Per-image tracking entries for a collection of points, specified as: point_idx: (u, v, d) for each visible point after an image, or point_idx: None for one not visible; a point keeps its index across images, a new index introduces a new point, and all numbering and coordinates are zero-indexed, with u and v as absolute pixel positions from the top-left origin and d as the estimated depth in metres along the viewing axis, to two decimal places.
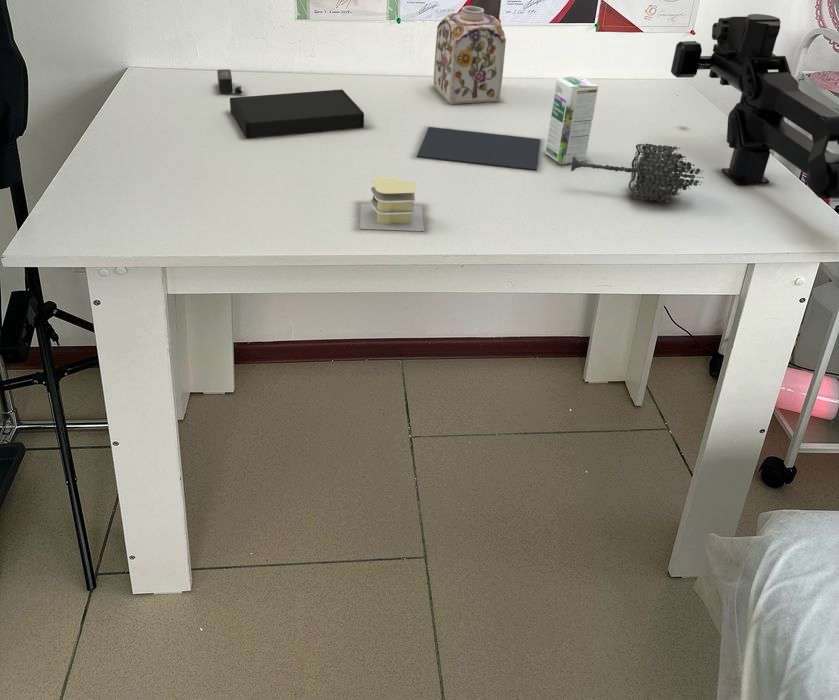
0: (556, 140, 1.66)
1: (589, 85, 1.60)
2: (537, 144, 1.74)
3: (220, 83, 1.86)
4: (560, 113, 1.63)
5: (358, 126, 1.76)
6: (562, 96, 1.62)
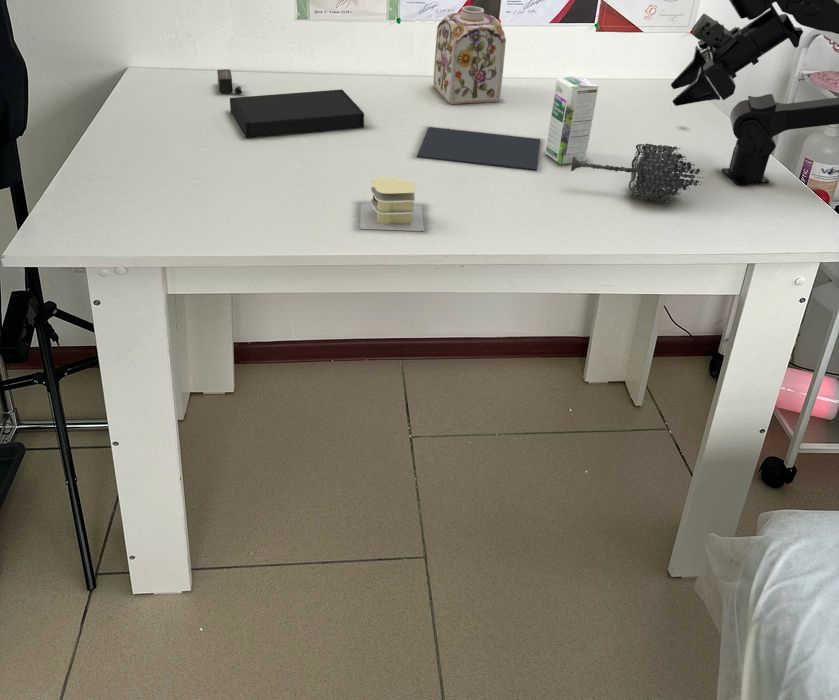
0: (556, 140, 1.66)
1: (589, 85, 1.60)
2: (537, 144, 1.74)
3: (220, 83, 1.86)
4: (560, 113, 1.63)
5: (358, 126, 1.76)
6: (562, 96, 1.62)
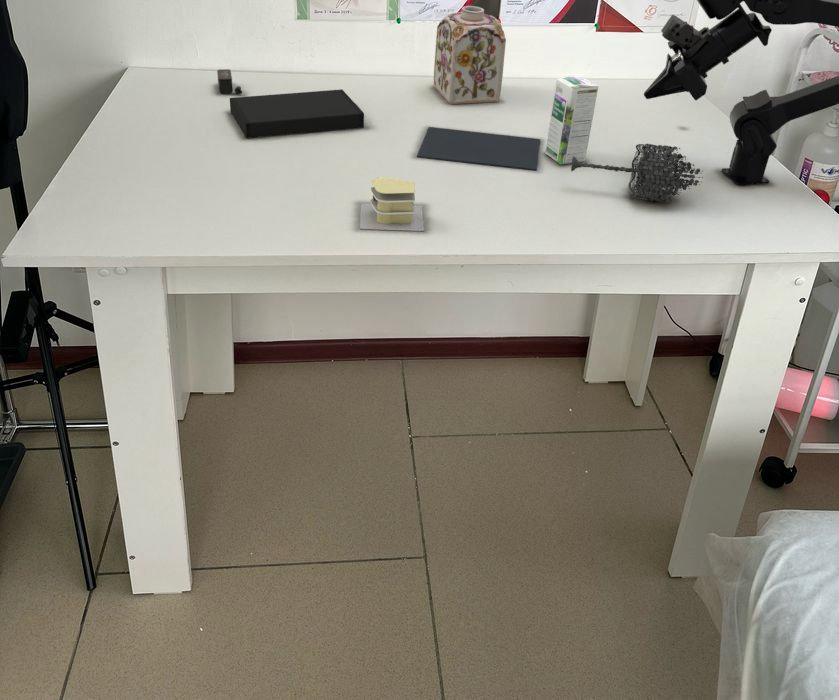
0: (556, 140, 1.66)
1: (589, 85, 1.60)
2: (537, 144, 1.74)
3: (220, 83, 1.86)
4: (560, 113, 1.63)
5: (358, 126, 1.76)
6: (562, 96, 1.62)
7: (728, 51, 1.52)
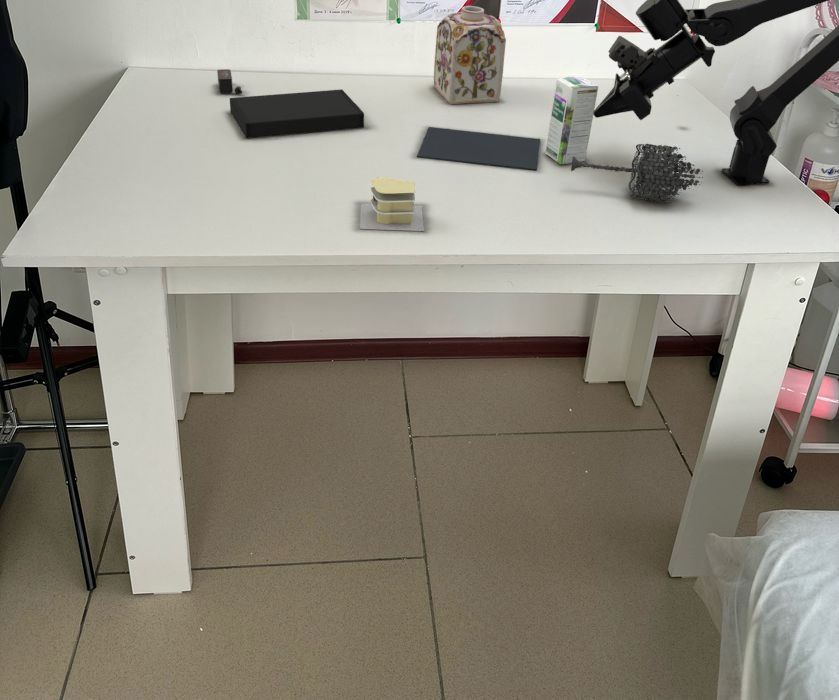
0: (556, 140, 1.66)
1: (589, 85, 1.60)
2: (537, 144, 1.74)
3: (220, 83, 1.86)
4: (560, 113, 1.63)
5: (358, 126, 1.76)
6: (562, 96, 1.62)
7: (673, 72, 1.55)
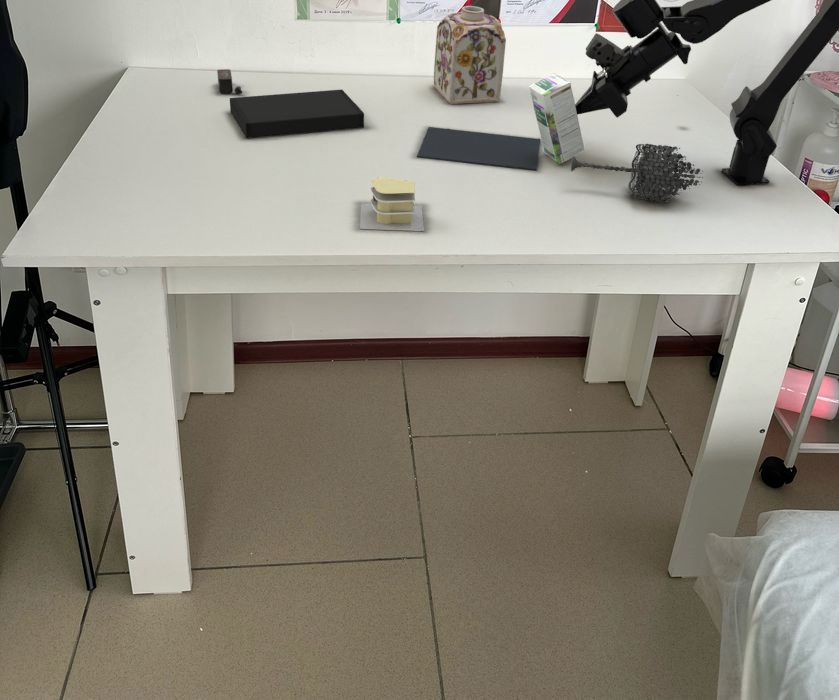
0: (549, 142, 1.66)
1: (561, 85, 1.58)
2: (537, 144, 1.74)
3: (220, 83, 1.86)
4: (543, 118, 1.62)
5: (358, 126, 1.76)
6: (539, 103, 1.61)
7: (649, 69, 1.56)
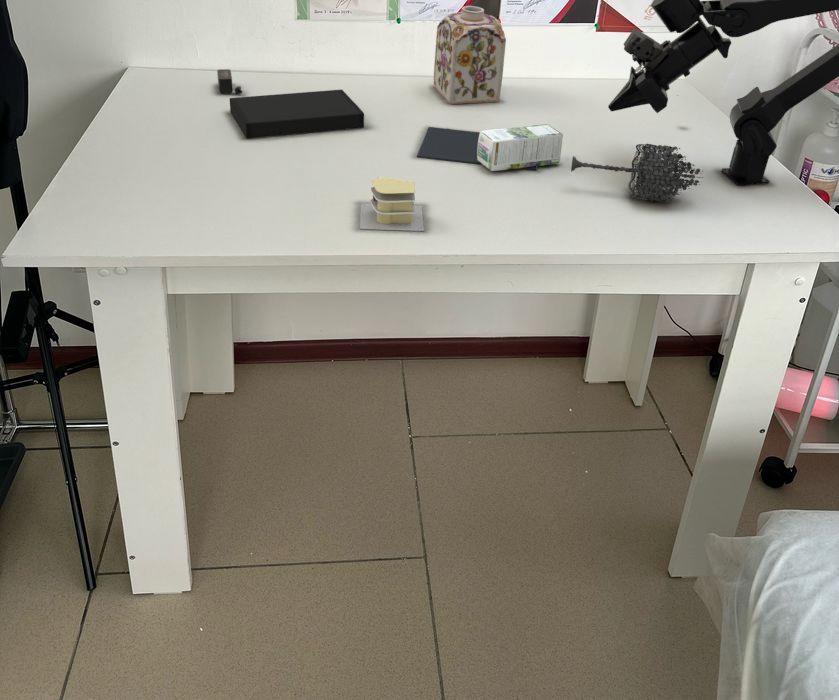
0: None
1: (491, 150, 1.59)
2: None
3: (220, 83, 1.86)
4: None
5: (358, 126, 1.76)
6: None
7: (689, 64, 1.54)
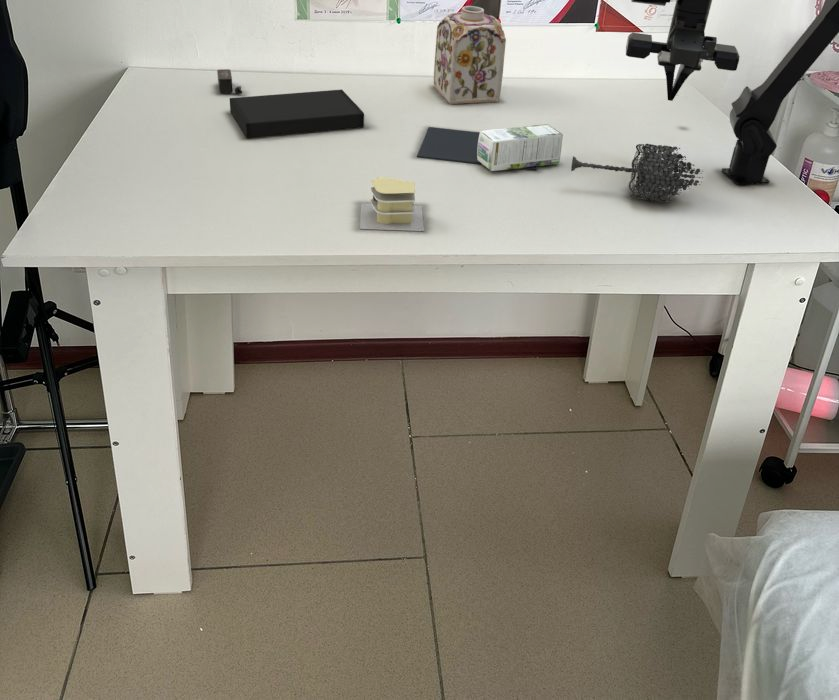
0: None
1: (491, 150, 1.59)
2: None
3: (220, 83, 1.86)
4: None
5: (358, 126, 1.76)
6: None
7: None
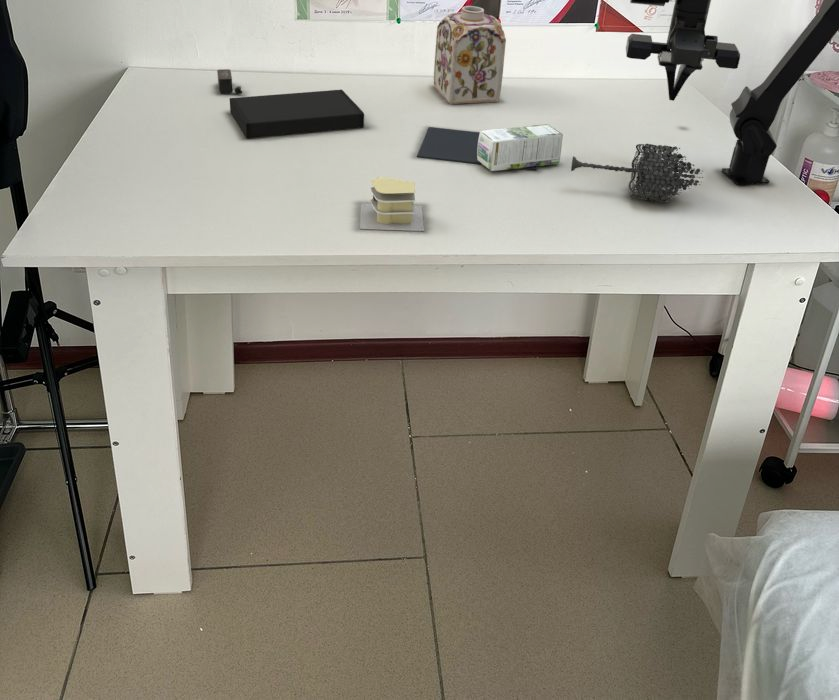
0: None
1: (491, 150, 1.59)
2: None
3: (220, 83, 1.86)
4: None
5: (358, 126, 1.76)
6: None
7: None
